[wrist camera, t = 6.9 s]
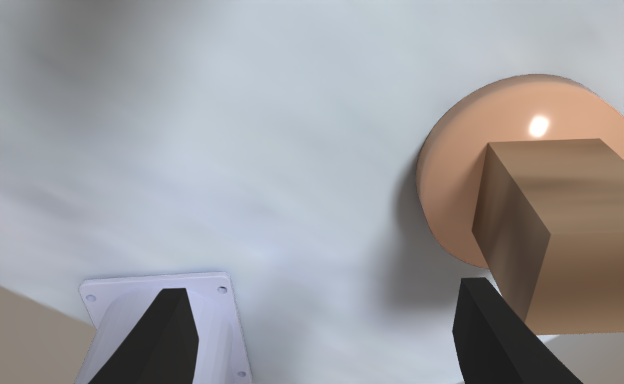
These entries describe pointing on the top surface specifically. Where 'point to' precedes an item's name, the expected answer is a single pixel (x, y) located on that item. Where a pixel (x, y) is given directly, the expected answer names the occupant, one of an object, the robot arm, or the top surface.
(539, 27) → the top surface
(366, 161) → the top surface
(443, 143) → the tan flattened disc
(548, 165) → the walnut block
